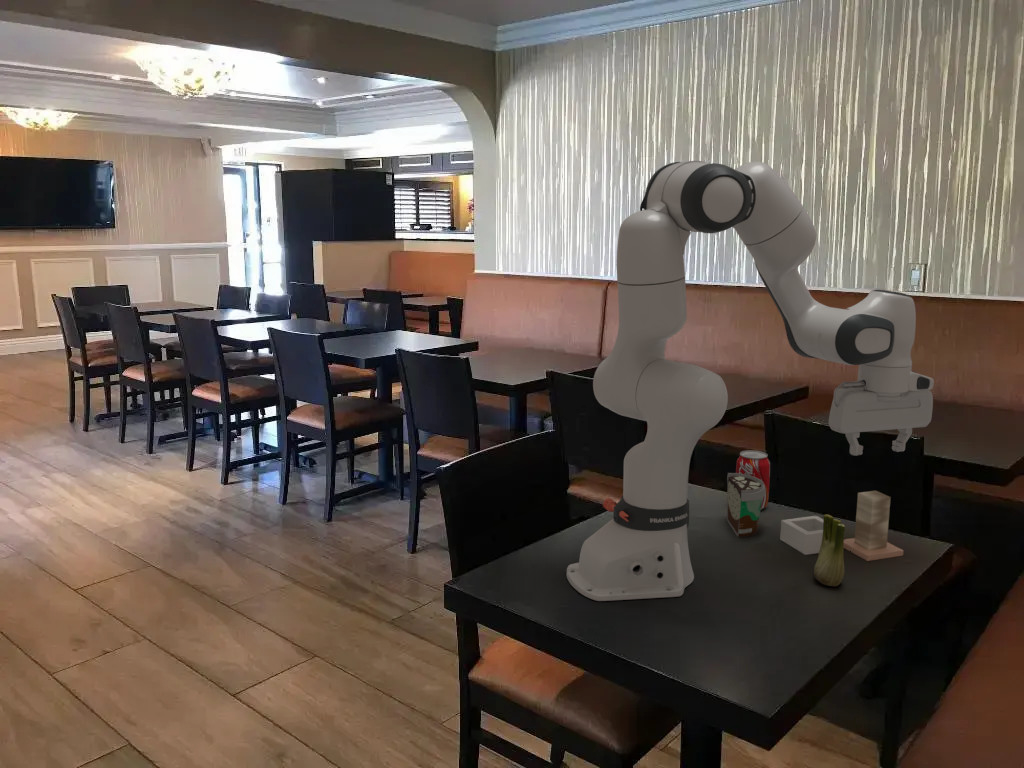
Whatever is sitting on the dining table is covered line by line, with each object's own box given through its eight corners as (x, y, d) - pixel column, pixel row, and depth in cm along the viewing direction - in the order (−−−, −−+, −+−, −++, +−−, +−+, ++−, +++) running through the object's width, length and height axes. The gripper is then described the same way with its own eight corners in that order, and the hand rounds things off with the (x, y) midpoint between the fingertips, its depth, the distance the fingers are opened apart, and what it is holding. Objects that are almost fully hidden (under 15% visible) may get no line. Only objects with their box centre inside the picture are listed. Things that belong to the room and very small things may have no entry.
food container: (771, 539, 167) (774, 491, 165) (740, 540, 168) (742, 491, 166) (754, 517, 180) (756, 471, 178) (725, 517, 180) (727, 472, 178)
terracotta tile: (867, 561, 157) (867, 555, 157) (838, 545, 164) (839, 540, 164) (903, 555, 159) (903, 550, 159) (873, 539, 167) (873, 535, 167)
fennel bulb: (844, 591, 145) (849, 524, 142) (813, 588, 146) (818, 522, 144) (842, 577, 150) (846, 513, 148) (812, 574, 152) (816, 510, 149)
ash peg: (868, 550, 159) (872, 499, 157) (854, 542, 163) (858, 492, 161) (886, 547, 160) (890, 497, 158) (871, 540, 164) (875, 490, 162)
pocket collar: (805, 554, 160) (806, 534, 159) (780, 539, 167) (781, 520, 167) (841, 549, 162) (842, 529, 161) (814, 534, 170) (816, 515, 169)
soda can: (771, 512, 182) (774, 458, 180) (738, 512, 182) (741, 458, 180) (763, 501, 189) (765, 449, 187) (731, 501, 189) (733, 449, 187)
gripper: (847, 385, 149) (841, 461, 152) (941, 379, 155) (934, 453, 158) (824, 379, 155) (818, 452, 158) (916, 373, 161) (909, 444, 164)
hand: (877, 452), depth 158 cm, fingers open, 8 cm apart
